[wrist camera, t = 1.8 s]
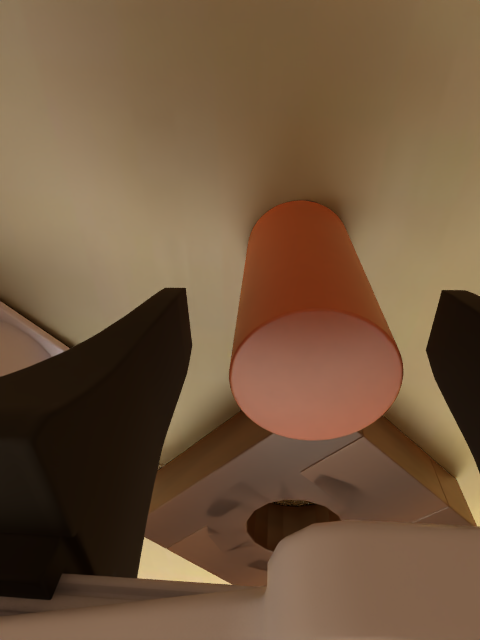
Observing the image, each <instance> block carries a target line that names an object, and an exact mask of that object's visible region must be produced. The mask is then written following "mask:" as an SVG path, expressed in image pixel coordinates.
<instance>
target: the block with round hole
mask: <svg viewBox="0 0 480 640" xmlns="http://www.w3.org/2000/svg"><path fill="white" fill-rule="evenodd" d="M282 500H302V501H309V502H312V503H314V504H311V505H306V506H300V507H292V506H281V505H278V504H274V503H272V502H277V501H282ZM345 520H365V521H384V522H403V523H421V524H440V525H459V526H477V525H476V523H475V520H474V518H473V516H472V514H471V511H470V509H469V507H468V505H467V502H466V500H465V498H464V496H463V493H462V491H461V489H460V486H459V484H458V482H457V480H456V479H455V478H454V477H453V476H451V475H450V474H449V473H448V472H447V471H446V470H445V469H443V468H442V467H441V466H440V465H439V464H438V463H436V462H435V461H434V460H433V459H432V458H431V457H430V456H429V455H428V454H426V453H425V452H424V451H423V450H422V449H421V448H419V447H418V446H417V445H416V444H415V443H414V442H413V441H411V440H410V439H409V438H408V437H407V436H406V435H404V434H403V433H402V432H401V431H400V430H399V429H398V428H396V427H395V426H394V425H393V424H392V423H391V422H389V421H388V420H387V419H386V418H385V417H384V416H383V415H382V416H381V417H380V418H379V419H377V420H376V421H375V422H373V423H372V424H370V425H369V426H367V427H365V428H363V429H361V430H359V431H357V432H355V433H352V434H350V435H346V436H343V437H339V438H334V439H328V440H298V439H292V438H287V437H284V436H280V435H277V434H275V433H272V432H270V431H268V430H266V429H264V428H262V427H260V426H259V425H257V424H256V423H254V422H253V421H252V420H251V419H250V418H248V417H247V416H246V414H245V413H244V412H243V411H242V410H241V411H240V412H239V413H237V414H236V415H234V416H233V417H232V418H230V419H229V420H227V421H226V422H225V423H223V424H222V425H220V426H219V427H218V428H216V429H215V430H213V431H212V432H211V433H209V434H208V435H207V436H205V437H204V438H202V439H201V440H200V441H198V442H197V443H195V444H194V445H193V446H191V447H190V448H188V449H187V450H186V451H184V452H183V453H182V454H180V455H179V456H177V457H176V458H175V459H173V460H172V461H170V462H169V463H168V464H166V465H165V466H163V467H162V468H161V469H159V470H158V471H157V474H156V478H155V483H154V488H153V493H152V498H151V503H150V508H149V513H148V518H147V524H146V529H145V535H144V537H146V538H148V539H149V540H151V541H153V542H155V543H157V544H159V545H160V546H162V547H164V548H167V549H168V550H170V551H171V552H173V553H175V554H177V555H179V556H181V557H183V558H184V559H186V560H188V561H190V562H192V563H194V564H195V565H197V566H199V567H201V568H203V569H205V570H207V571H208V572H210V573H212V574H214V575H216V576H218V577H219V578H221V579H223V580H225V581H227V582H229V583H231V584H232V585H241V586H255V587H267V572H268V561H269V559H270V558H271V556H272V554H273V552H274V550H275V548H276V546H277V545H278V543H279V542H280V541H281V540H282V539H284V538H285V537H287V536H289V535H291V534H293V533H295V532H297V531H299V530H301V529H303V528H305V527H307V526H309V525H311V524H314V523H324V522H335V521H345Z"/></svg>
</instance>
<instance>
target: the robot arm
mask: <svg viewBox="0 0 480 640" xmlns="http://www.w3.org/2000/svg"><path fill="white" fill-rule="evenodd" d="M191 349H192V339H191V331H190V322H189V313H188V304H187V296H186V288H164V289H162V290H161V291H159V292H158V293H156V294H155V295H153V296H152V297H151V298H149V299H148V300H147V301H145V302H144V303H143V304H141V305H140V306H138V307H137V308H136V309H134V310H133V311H131V312H130V313H129V314H127V315H126V316H124V317H123V318H121V319H120V320H118V321H117V322H115V323H114V324H112V325H111V326H109V327H107V328H106V329H104V330H103V331H101V332H100V333H98V334H96V335H95V336H93V337H91V338H89V339H88V340H86V341H84V342H82V343H80V344H78V345H76V346H74V347H72V348H69V347H67V346H66V345H64V344H63V343H61V342H60V341H58V340H57V339H55V338H54V337H52V336H51V335H49V334H48V333H47V332H45V331H44V330H42V329H41V328H39V327H38V326H36V325H35V324H33V323H32V322H30V321H29V320H27V319H26V318H24V317H23V316H21V315H20V314H19V313H17V312H16V311H14V310H13V309H11V308H10V307H8V306H7V305H5V304H4V303H2V302H1V301H0V640H480V527H477V526H459V525H440V524H421V523H403V522H384V521H365V520H345V521H335V522H324V523H314V524H311V525H309V526H307V527H305V528H303V529H301V530H299V531H297V532H295V533H293V534H291V535H289V536H287V537H285V538H284V539H282V540H281V541H280V542H279V543H278V545H277V546H276V548H275V550H274V552H273V554H272V556H271V558H270V559H269V561H268V572H267V587H255V586H241V585H226V584H211V583H196V582H182V581H167V580H152V579H138V578H137V575H138V569H139V563H140V557H141V551H142V545H143V540H144V535H145V529H146V524H147V518H148V513H149V508H150V503H151V498H152V493H153V488H154V483H155V478H156V474H157V469H158V465H159V460H160V456H161V451H162V447H163V444H164V440H165V437H166V434H167V431H168V428H169V425H170V422H171V419H172V416H173V413H174V410H175V407H176V404H177V402H178V399H179V396H180V393H181V390H182V387H183V384H184V381H185V378H186V375H187V371H188V366H189V361H190V355H191ZM426 352H427V355H428V359H429V362H430V366H431V369H432V372H433V375H434V378H435V380H436V382H437V384H438V387H439V389H440V391H441V393H442V395H443V397H444V399H445V401H446V403H447V405H448V407H449V409H450V411H451V413H452V415H453V416H454V418H455V420H456V422H457V424H458V426H459V428H460V430H461V432H462V434H463V436H464V438H465V440H466V442H467V444H468V446H469V448H470V451H471V453H472V455H473V457H474V459H475V462H476V464H477V467H478V470H479V473H480V296H478V295H476V294H473V293H471V292H468V291H465V290H442V292H441V296H440V300H439V303H438V307H437V311H436V314H435V318H434V322H433V326H432V329H431V333H430V337H429V341H428V344H427V348H426Z"/></svg>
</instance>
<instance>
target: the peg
mask: <svg viewBox="0 0 480 640" xmlns="http://www.w3.org/2000/svg"><path fill="white" fill-rule="evenodd" d="M402 379H403V363H402V358H401V355H400V352H399V350H398V347H397V345H396V343H395V340H394V338H393V336H392V333H391V331H390V329H389V327H388V324H387V322H386V320H385V317H384V315H383V313H382V311H381V308H380V306H379V304H378V302H377V299H376V297H375V295H374V292H373V290H372V288H371V286H370V283H369V281H368V279H367V276H366V274H365V272H364V270H363V267H362V265H361V263H360V260H359V258H358V256H357V254H356V251H355V249H354V247H353V244H352V242H351V240H350V238H349V235H348V233H347V231H346V228H345V226H344V224H343V223H342V221H341V220H340V219H339V217H338V216H337V215H336V214H335V213H334V212H333V211H331V210H330V209H328V208H327V207H325V206H323V205H321V204H318V203H315V202H311V201H302V200H299V201H290V202H286V203H283V204H280V205H278V206H276V207H274V208H272V209H271V210H269V211H268V212H266V213H265V214H264V215H263V216H262V217H261V218H260V219H259V220H258V221H257V223H256V224H255V226H254V228H253V230H252V232H251V234H250V237H249V242H248V247H247V254H246V261H245V268H244V274H243V281H242V288H241V295H240V301H239V308H238V315H237V322H236V329H235V335H234V342H233V349H232V356H231V362H230V369H229V381H230V388H231V391H232V394H233V396H234V398H235V400H236V402H237V404H238V406H239V407H240V409H241V410H242V411H243V412H244V413H245V414H246V416H247V417H248V418H250V419H251V420H252V421H253V422H254V423H256V424H257V425H259V426H260V427H262V428H264V429H266V430H268V431H270V432H272V433H275V434H277V435H280V436H284V437H287V438H292V439H298V440H328V439H334V438H339V437H343V436H346V435H350V434H352V433H355V432H357V431H359V430H361V429H363V428H365V427H367V426H369V425H370V424H372V423H373V422H375V421H376V420H377V419H379V418H380V417H381V416H382V415H383V414H384V413H385V412H386V411H387V410H388V409H389V408H390V406H391V405H392V404H393V402H394V401H395V399H396V397H397V395H398V393H399V390H400V387H401V384H402Z"/></svg>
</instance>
